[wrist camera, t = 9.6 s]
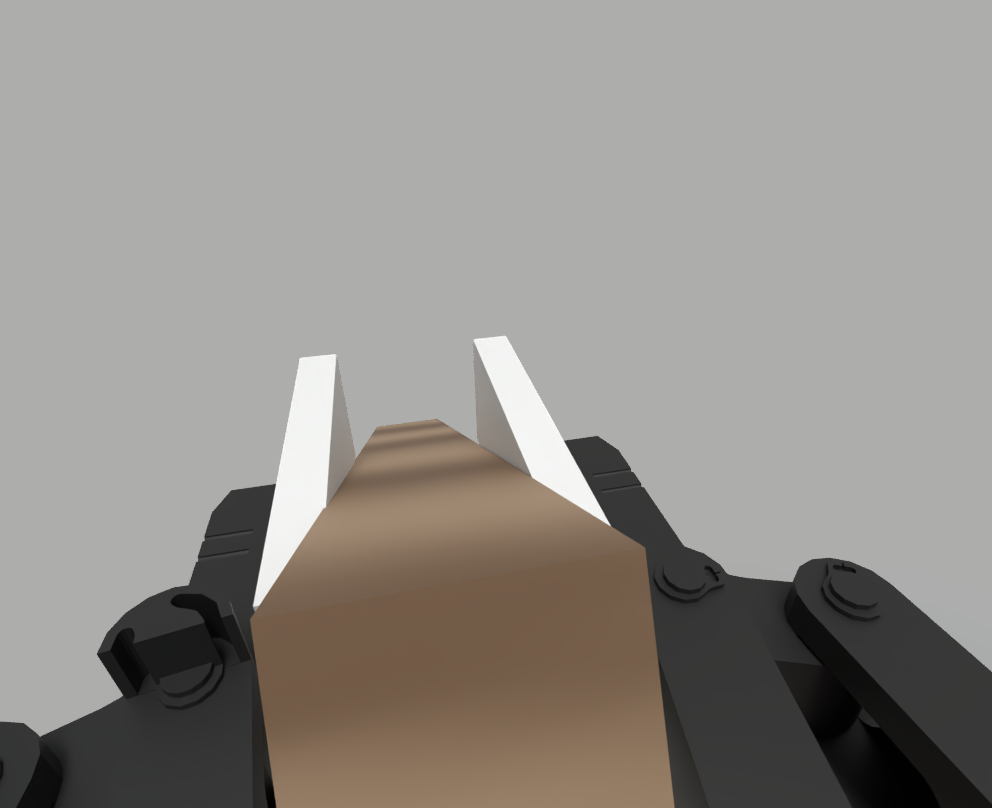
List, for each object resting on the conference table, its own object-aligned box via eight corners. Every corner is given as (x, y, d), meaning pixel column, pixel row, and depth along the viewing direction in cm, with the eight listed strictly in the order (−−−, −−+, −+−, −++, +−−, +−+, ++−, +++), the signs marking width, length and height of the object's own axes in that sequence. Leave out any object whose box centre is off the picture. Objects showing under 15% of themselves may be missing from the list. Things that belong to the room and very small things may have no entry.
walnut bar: (686, 907, 5) (646, 547, 4) (307, 1021, 4) (249, 619, 4) (444, 477, 28) (437, 418, 28) (384, 486, 28) (377, 426, 28)
